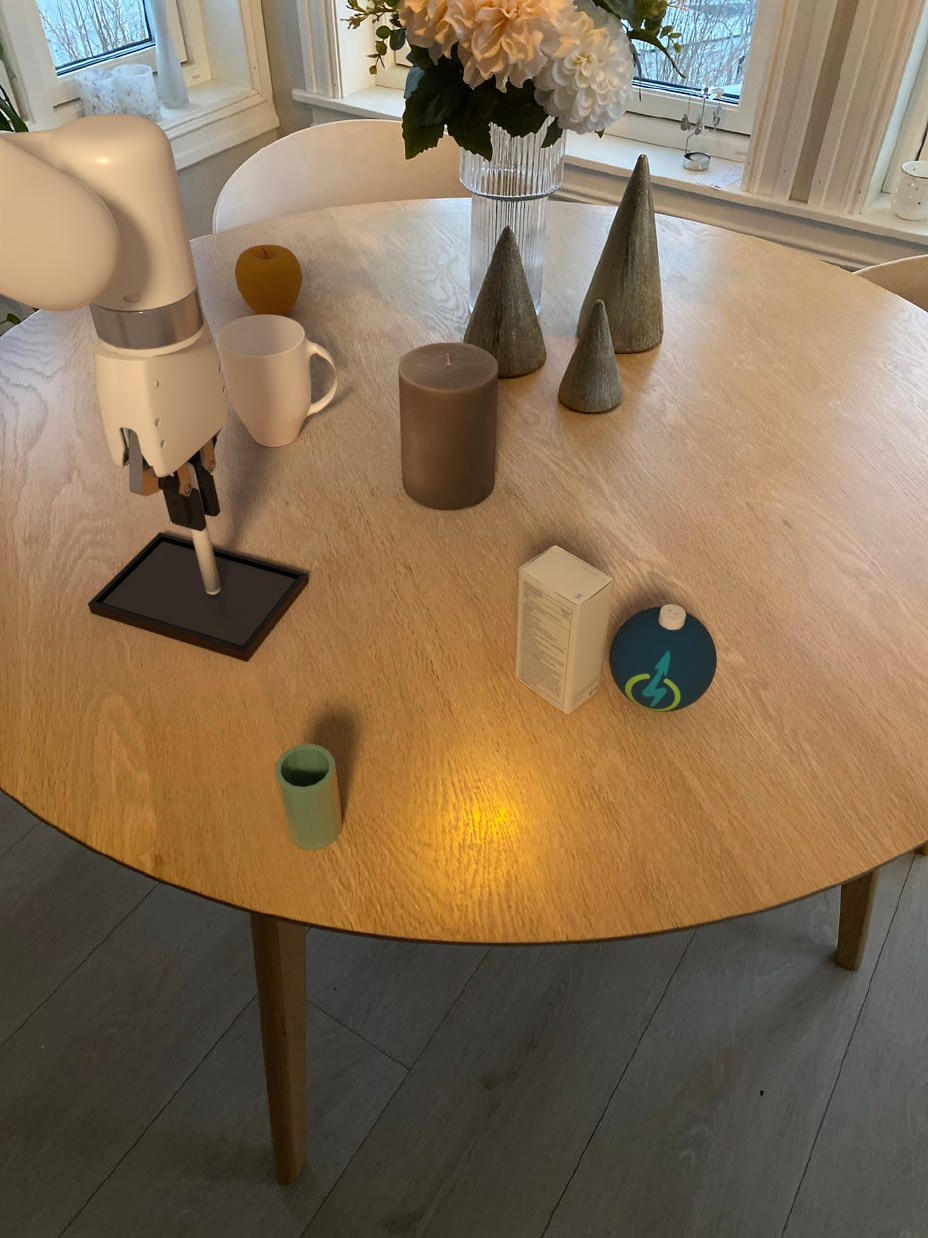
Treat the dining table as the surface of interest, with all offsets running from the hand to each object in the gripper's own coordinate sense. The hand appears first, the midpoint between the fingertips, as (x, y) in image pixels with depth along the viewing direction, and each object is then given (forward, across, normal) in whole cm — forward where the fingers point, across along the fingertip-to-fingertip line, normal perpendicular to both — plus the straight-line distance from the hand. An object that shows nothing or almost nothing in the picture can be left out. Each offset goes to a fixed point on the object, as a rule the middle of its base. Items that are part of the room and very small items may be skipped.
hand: (196, 517), depth 80 cm
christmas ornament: (+10, -4, +40) cm, 41 cm away
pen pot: (+9, +18, +20) cm, 28 cm away
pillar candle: (+10, -25, +13) cm, 30 cm away
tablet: (+9, 0, -1) cm, 9 cm away
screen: (+9, 0, -1) cm, 9 cm away
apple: (+10, -52, -24) cm, 58 cm away
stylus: (+9, 0, 0) cm, 9 cm away
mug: (+10, -27, -7) cm, 29 cm away
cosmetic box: (+10, -2, +32) cm, 33 cm away
